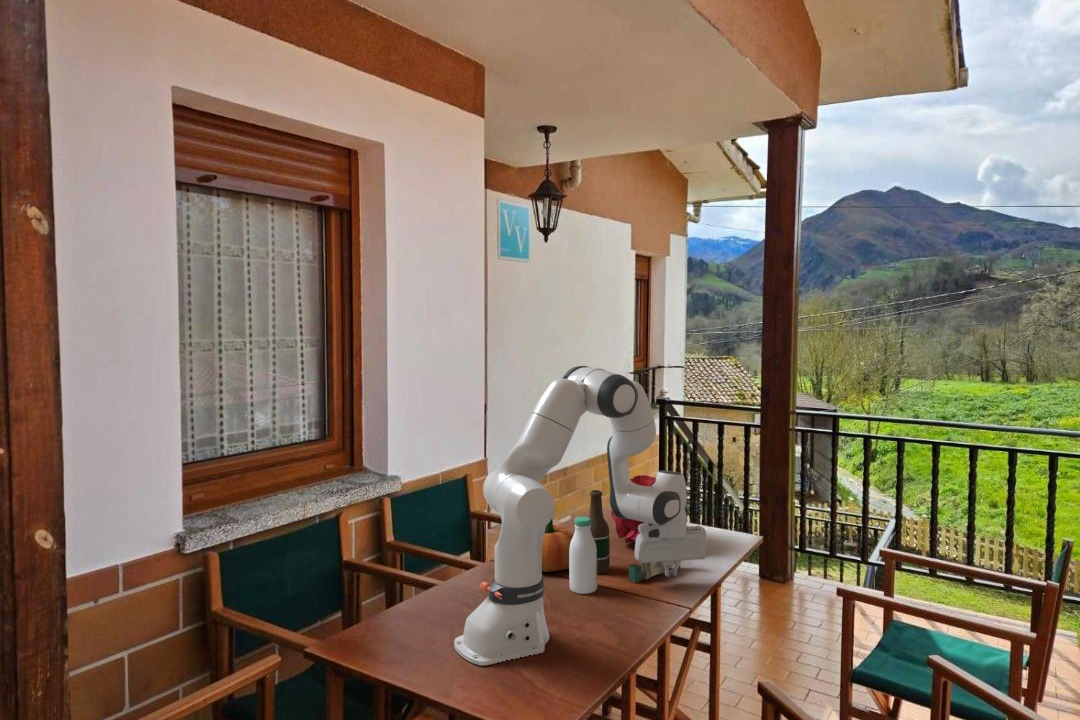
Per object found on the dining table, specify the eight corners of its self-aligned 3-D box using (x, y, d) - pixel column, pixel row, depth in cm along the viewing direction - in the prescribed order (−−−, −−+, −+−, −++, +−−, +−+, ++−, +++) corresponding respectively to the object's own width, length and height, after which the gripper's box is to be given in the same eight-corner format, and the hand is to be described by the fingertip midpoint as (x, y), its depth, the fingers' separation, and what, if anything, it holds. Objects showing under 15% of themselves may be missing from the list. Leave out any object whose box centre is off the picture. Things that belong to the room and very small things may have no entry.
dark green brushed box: (635, 583, 191) (635, 568, 191) (628, 580, 193) (628, 565, 193) (643, 580, 193) (643, 565, 193) (637, 578, 195) (637, 562, 195)
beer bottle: (597, 577, 196) (596, 495, 195) (578, 570, 202) (577, 491, 201) (615, 570, 201) (614, 491, 200) (596, 563, 207) (595, 486, 206)
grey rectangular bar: (669, 567, 202) (669, 550, 202) (675, 569, 200) (675, 551, 200) (641, 577, 194) (641, 559, 194) (646, 579, 193) (646, 561, 192)
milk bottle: (595, 595, 183) (594, 523, 182) (567, 593, 185) (566, 521, 183) (598, 584, 191) (598, 515, 189) (571, 583, 192) (571, 513, 191)
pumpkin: (535, 551, 220) (534, 505, 219) (589, 559, 211) (589, 512, 210) (506, 571, 202) (505, 522, 201) (565, 581, 194) (564, 529, 193)
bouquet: (691, 559, 228) (621, 505, 242) (723, 506, 219) (649, 453, 232) (663, 585, 211) (590, 525, 224) (697, 528, 202) (618, 469, 215)
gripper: (701, 522, 194) (701, 569, 195) (632, 525, 192) (633, 573, 192) (710, 528, 188) (710, 577, 189) (639, 532, 185) (639, 582, 186)
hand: (670, 575), depth 191 cm, fingers closed
